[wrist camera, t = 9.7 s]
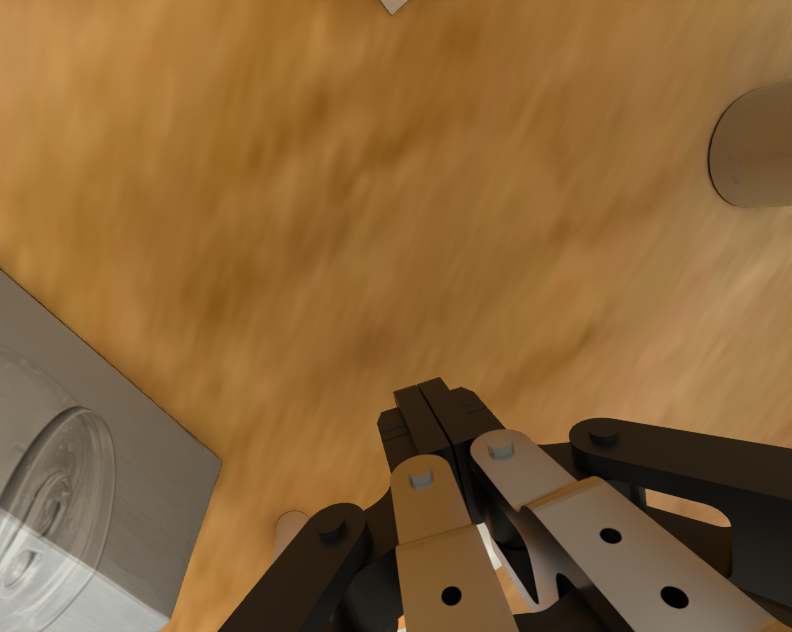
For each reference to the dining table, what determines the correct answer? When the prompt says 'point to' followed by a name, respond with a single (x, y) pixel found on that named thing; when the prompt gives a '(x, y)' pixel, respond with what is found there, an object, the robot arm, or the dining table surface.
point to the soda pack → (88, 485)
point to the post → (287, 530)
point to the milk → (393, 5)
